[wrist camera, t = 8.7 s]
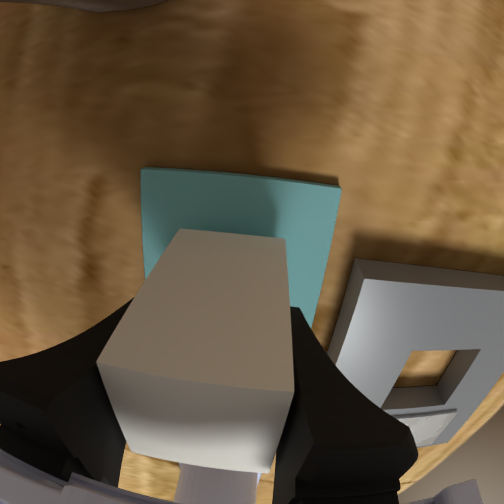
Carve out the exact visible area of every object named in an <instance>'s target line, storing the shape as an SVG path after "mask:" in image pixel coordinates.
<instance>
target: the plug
mask: <svg viewBox="0 0 504 504" xmlns="http://www.w3.org/2000/svg"><path fill="white" fill-rule="evenodd" d="M96 363H97V366H98V369H99V372H100V375H101V378H102V381H103V383H104V386H105V389H106V392H107V394H108V397H109V400H110V402H111V405H112V408H113V410H114V413H115V415H116V418H117V420H118V423H119V425H120V427H121V430H122V432H123V434H124V437H125V439H126V441H127V443H128V446H129V448H130V450H131V452H134V453H138V454H142V455H146V456H150V457H155V458H159V459H164V460H169V461H174V462H179V463H185V464H190V465H196V466H203V467H210V468H217V469H225V470H234V471H244V472H256V473H269V471H270V468H271V465H272V462H273V459H274V456H275V453H276V450H277V447H278V444H279V441H280V438H281V435H282V431H283V428H284V425H285V422H286V418H287V415H288V412H289V408H290V405H291V402H292V398H293V395H294V372H293V351H292V332H291V314H290V298H289V283H288V268H287V255H286V241H285V239H284V238H274V237H264V236H255V235H245V234H235V233H224V232H214V231H203V230H193V229H182V228H180V229H179V230H178V232H177V233H176V235H175V236H174V238H173V239H172V241H171V242H170V243H169V245H168V246H167V248H166V249H165V251H164V252H163V254H162V255H161V257H160V258H159V260H158V262H157V263H156V265H155V266H154V268H153V269H152V271H151V272H150V274H149V275H148V277H147V278H146V280H145V282H144V283H143V285H142V286H141V288H140V289H139V291H138V293H137V294H136V296H135V297H134V299H133V301H132V302H131V304H130V305H129V307H128V309H127V310H126V312H125V314H124V315H123V317H122V319H121V320H120V322H119V324H118V325H117V327H116V329H115V330H114V332H113V334H112V335H111V337H110V339H109V340H108V342H107V344H106V345H105V347H104V349H103V351H102V352H101V354H100V356H99V358H98V359H97V361H96Z"/></svg>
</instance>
